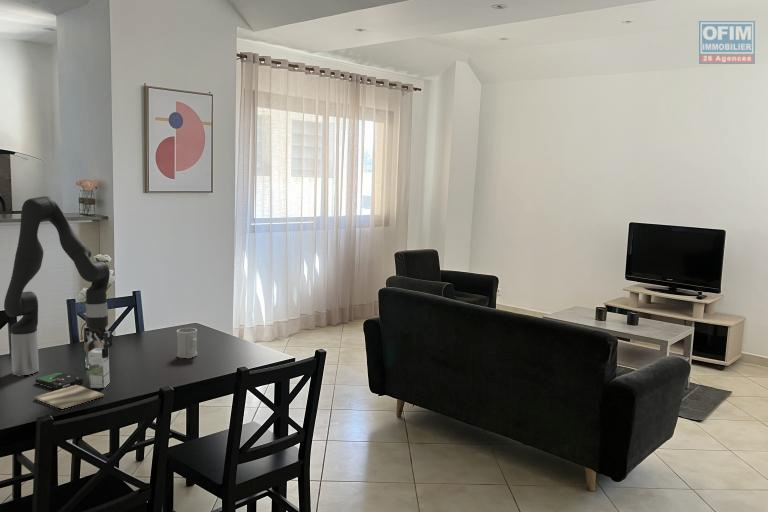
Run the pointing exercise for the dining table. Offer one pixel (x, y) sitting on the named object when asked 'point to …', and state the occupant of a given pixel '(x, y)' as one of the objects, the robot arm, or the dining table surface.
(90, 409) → the dining table surface
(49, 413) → the dining table surface
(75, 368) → the dining table surface
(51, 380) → the disk drive
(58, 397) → the birch board
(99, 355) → the syrup box
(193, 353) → the cup
